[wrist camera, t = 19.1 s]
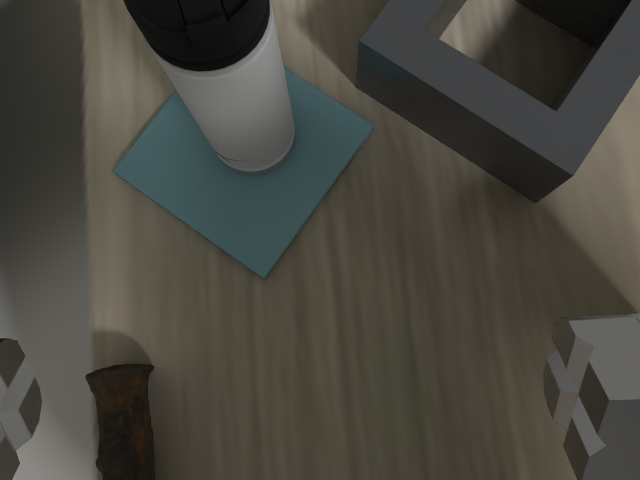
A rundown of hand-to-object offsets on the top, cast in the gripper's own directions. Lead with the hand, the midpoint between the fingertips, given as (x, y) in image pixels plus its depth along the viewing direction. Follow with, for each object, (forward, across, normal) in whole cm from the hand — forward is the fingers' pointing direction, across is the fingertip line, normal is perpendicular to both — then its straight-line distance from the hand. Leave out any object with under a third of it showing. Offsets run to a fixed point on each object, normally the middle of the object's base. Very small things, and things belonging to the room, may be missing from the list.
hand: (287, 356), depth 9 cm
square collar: (+39, -14, +9) cm, 42 cm away
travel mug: (+34, +5, +12) cm, 37 cm away
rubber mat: (+34, +6, +13) cm, 37 cm away
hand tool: (+17, +12, +31) cm, 37 cm away
